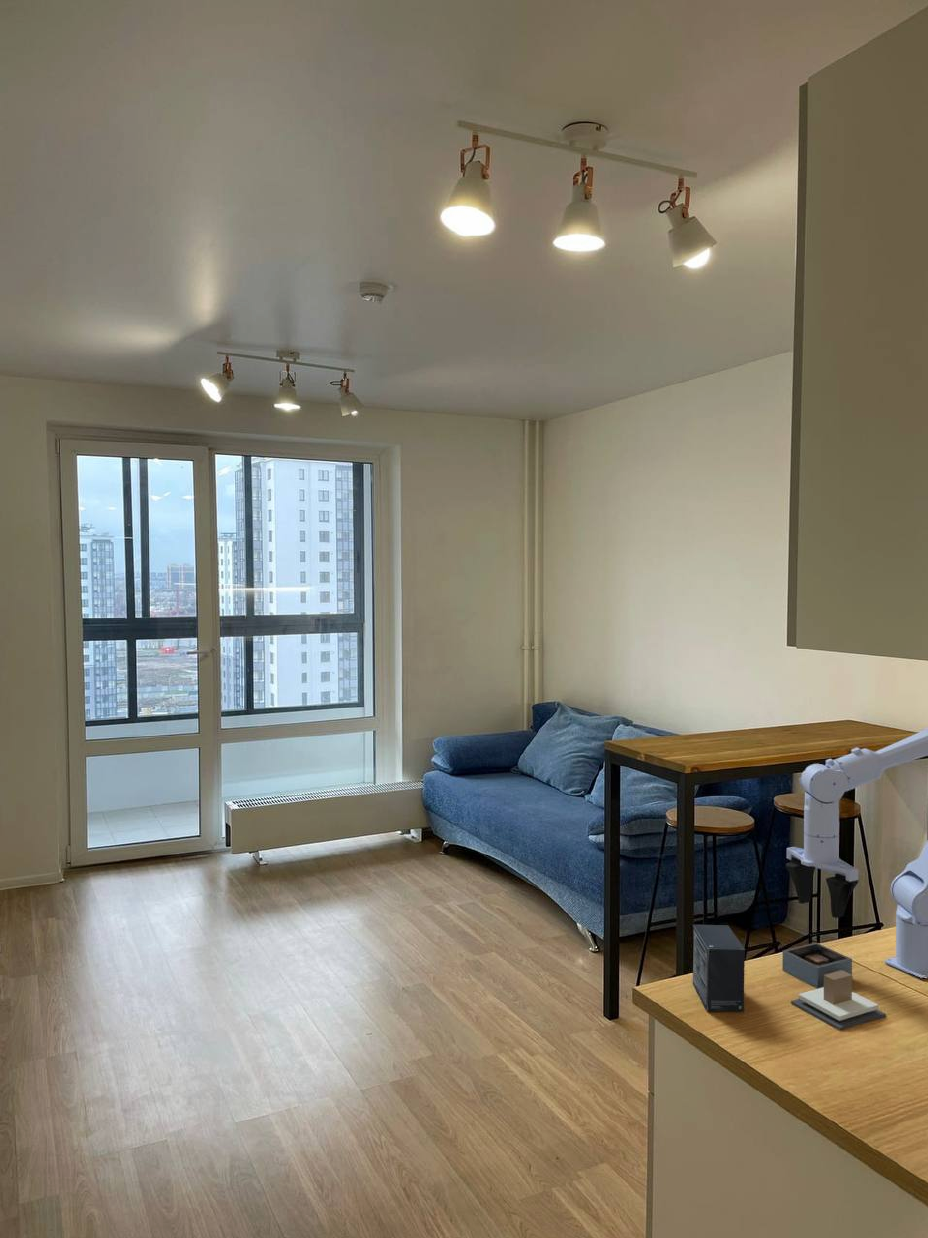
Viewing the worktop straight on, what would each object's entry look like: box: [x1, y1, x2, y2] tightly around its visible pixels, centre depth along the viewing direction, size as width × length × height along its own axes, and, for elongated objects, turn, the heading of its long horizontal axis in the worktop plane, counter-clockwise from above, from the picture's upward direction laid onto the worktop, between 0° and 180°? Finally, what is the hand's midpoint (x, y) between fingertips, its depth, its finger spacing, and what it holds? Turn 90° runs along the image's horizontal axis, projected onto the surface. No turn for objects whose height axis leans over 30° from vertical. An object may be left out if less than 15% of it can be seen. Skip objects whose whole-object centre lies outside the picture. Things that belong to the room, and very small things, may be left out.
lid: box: [797, 970, 879, 1021], centre depth 148 cm, size 8×8×5 cm
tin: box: [781, 942, 853, 989], centre depth 161 cm, size 8×8×4 cm
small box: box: [692, 924, 746, 1013], centre depth 152 cm, size 11×6×10 cm, turn 179°
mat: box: [790, 998, 887, 1031], centre depth 148 cm, size 10×10×1 cm
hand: (820, 909), depth 163 cm, fingers open, 7 cm apart
